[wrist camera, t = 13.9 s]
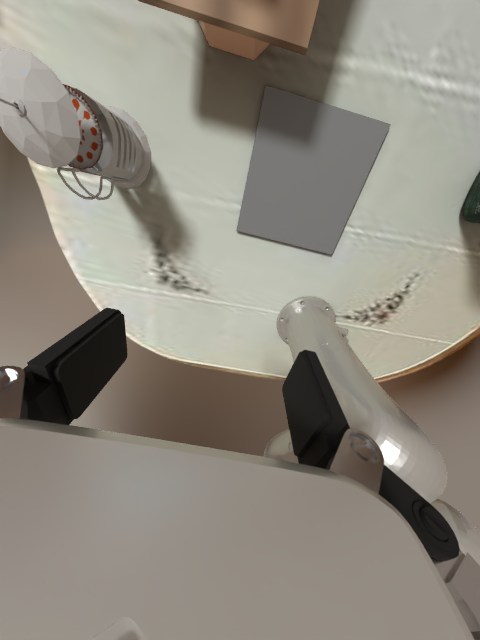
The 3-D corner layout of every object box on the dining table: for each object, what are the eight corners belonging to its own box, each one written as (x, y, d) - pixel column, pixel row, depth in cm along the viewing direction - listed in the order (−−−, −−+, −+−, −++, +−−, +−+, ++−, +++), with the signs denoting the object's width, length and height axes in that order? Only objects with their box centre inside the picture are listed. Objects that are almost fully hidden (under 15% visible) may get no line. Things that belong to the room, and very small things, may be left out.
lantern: (144, 107, 28) (-234, -252, 6) (158, 202, 33) (-9, 194, 12) (76, 104, 28) (-529, -254, 6) (101, 200, 34) (-164, 187, 12)
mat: (388, 125, 28) (390, 124, 27) (330, 254, 36) (331, 254, 36) (265, 87, 26) (265, 85, 26) (236, 230, 35) (236, 230, 35)
